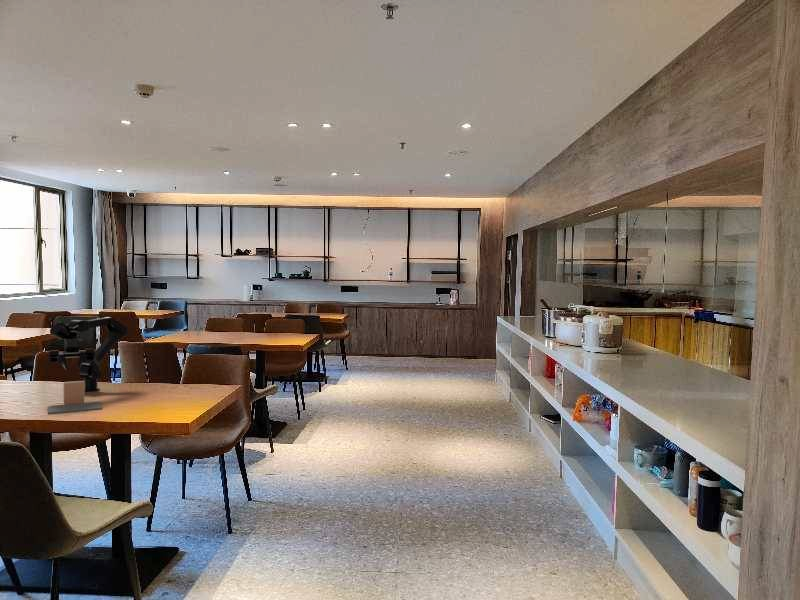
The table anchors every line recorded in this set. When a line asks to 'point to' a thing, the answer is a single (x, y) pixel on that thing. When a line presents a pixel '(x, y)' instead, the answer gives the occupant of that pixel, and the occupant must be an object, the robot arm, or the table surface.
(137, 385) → the table surface
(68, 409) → the mat
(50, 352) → the robot arm
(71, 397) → the glazed tile
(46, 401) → the table surface
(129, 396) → the table surface
